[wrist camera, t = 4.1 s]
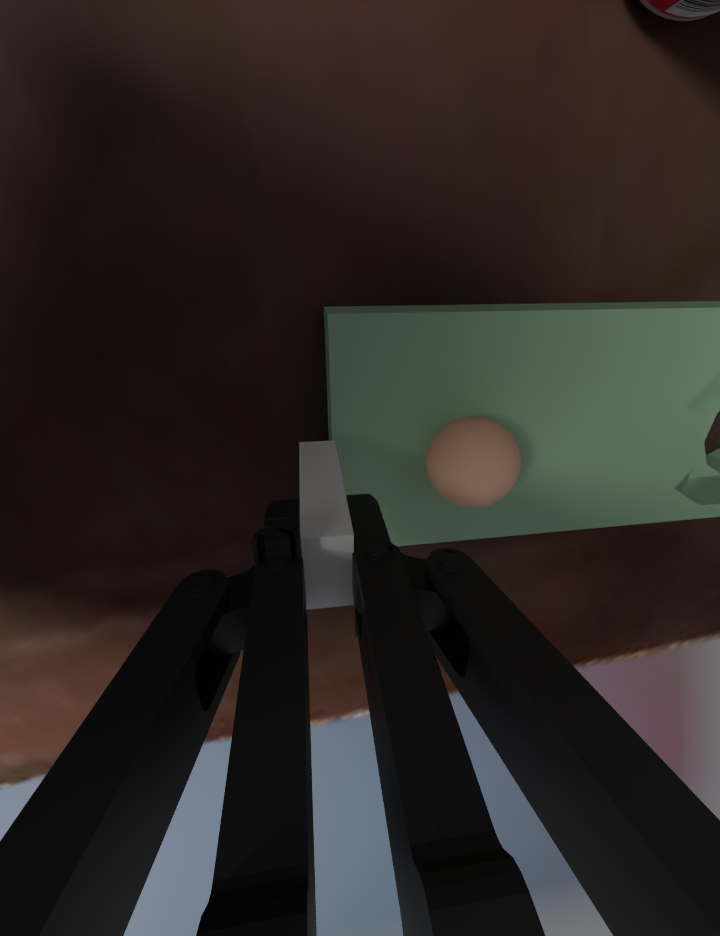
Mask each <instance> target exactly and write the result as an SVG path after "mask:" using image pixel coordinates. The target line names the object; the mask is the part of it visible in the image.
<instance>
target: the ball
mask: <svg viewBox="0 0 720 936" xmlns="http://www.w3.org/2000/svg"><path fill="white" fill-rule="evenodd" d="M426 468H427V473H428V477H429V479H430V481H431V484H432V485H433V487H434V488H435V490H436V491H437V492H438V493H439V494H440V495H441V496H442V497H443V498H444V499H446V500H447V501H449V502H451V503H453V504H455V505H458V506H461V507H466V508H481V507H486V506H489V505H492V504H494V503H496V502H498V501H499V500H501V499H502V498H504V497H505V496H506V495H507V494H508V493H509V492H510V491H511V490H512V488H513V487H514V485H515V483H516V482H517V479H518V477H519V473H520V468H521V456H520V451H519V448H518V445H517V443H516V441H515V439H514V438H513V436H512V435H511V434H510V433H509V432H508V431H507V430H506V429H505V428H504V427H503V426H501V425H500V424H498V423H497V422H495V421H492V420H490V419H486V418H482V417H465V418H461V419H458V420H455V421H453V422H451V423H449V424H447V425H446V426H444V427H443V428H442V429H441V430H440V431H439V432H438V433H437V434H436V435H435V437H434V438H433V440H432V442H431V444H430V446H429V448H428V452H427V457H426Z"/></svg>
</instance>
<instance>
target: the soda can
mask: <svg viewBox="0 0 720 936" xmlns="http://www.w3.org/2000/svg"><path fill="white" fill-rule="evenodd" d="M639 1H640V2H641V3H642V4H643V5H644V6H645V7H646V8H648V9H649V10H650V11H652V12H653V13H655V14H656V15H658V16H661V17H663V18H667V19H670V20H675V21H690V20H697V19H701V18H704V17H707V16H710V15H712V14H714V13H716V12H718V11H720V0H639Z"/></svg>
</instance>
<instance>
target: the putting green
mask: <svg viewBox="0 0 720 936" xmlns="http://www.w3.org/2000/svg"><path fill="white" fill-rule="evenodd" d="M324 327H325V353H326V380H327V406H328V433H329V441H334V440H335V444H336V449H337V454H338V459H339V464H340V469H341V474H342V479H343V484H344V489H345V494H346V495H355V494H371V495H372V496H373V497H374V498H375V499H376V500H377V501H378V503H379V506H380V510H381V512H382V516H383V519H384V522H385V525H386V528H387V531H388V534H389V537H390V540H391V543H393V544H394V545H396V546H407V545H418V544H429V543H439V542H450V541H461V540H472V539H483V538H494V537H505V536H515V535H526V534H537V533H548V532H559V531H570V530H580V529H591V528H602V527H613V526H624V525H635V524H646V523H656V522H667V521H678V520H689V519H700V518H711V517H720V448H719V449H717V450H715V451H713V452H711V453H709V454H705V445H704V441H705V439H706V437H707V435H708V432H709V430H710V428H711V426H712V424H713V421H714V419H715V417H716V415H717V413H718V412H719V411H720V301H681V302H612V303H542V304H473V305H403V306H334V307H324ZM465 417H482V418H486V419H490V420H492V421H495V422H497V423H498V424H500V425H501V426H503V427H504V428H505V429H506V430H507V431H508V432H509V433H510V434H511V435H512V436H513V438H514V439H515V441H516V443H517V445H518V448H519V451H520V456H521V468H520V473H519V477H518V479H517V482H516V483H515V485H514V487H513V488H512V490H511V491H510V492H509V493H508V494H507V495H506V496H505V497H504V498H502V499H501V500H499V501H498V502H496V503H494V504H492V505H489V506H486V507H481V508H466V507H461V506H458V505H455V504H453V503H451V502H449V501H447V500H446V499H444V498H443V497H442V496H441V495H440V494H439V493H438V492H437V491H436V490H435V488H434V487H433V485H432V484H431V481H430V479H429V477H428V473H427V468H426V457H427V452H428V448H429V446H430V444H431V442H432V440H433V438H434V437H435V435H436V434H437V433H438V432H439V431H440V430H441V429H442V428H443V427H444V426H446V425H447V424H449V423H451V422H453V421H455V420H458V419H461V418H465Z"/></svg>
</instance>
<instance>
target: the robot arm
mask: <svg viewBox="0 0 720 936" xmlns="http://www.w3.org/2000/svg"><path fill="white" fill-rule="evenodd" d="M299 475H300V499H294V500H279V501H272V503H271V504H270V505H269V506H268V508H267V509H266V514H265V522H264V528H263V529H261V530H259V531H258V532H257V533H256V534H255V535H254V537H253V539H252V546H253V552H254V559H255V565H254V566H253V567H252V568H250V569H249V570H247V571H245V572H243V573H241V574H238V575H235V576H232V577H229V578H227V577H226V575H224V574H223V573H222V572H221V571H217V570H202V571H199V572H195V573H193V574H191V575H189V576H187V577H186V578H184V579H183V580H182V581H181V582H180V583H179V584H178V586H177V587H176V588H175V590H174V591H173V593H172V594H171V596H170V597H169V599H168V600H167V601H166V603H165V604H164V606H163V607H162V609H161V610H160V612H159V613H158V614H157V616H156V617H155V619H154V620H153V622H152V623H151V625H150V626H149V627H148V629H147V630H146V632H145V633H144V635H143V636H142V638H141V639H140V640H139V642H138V643H137V645H136V646H135V648H134V649H133V651H132V652H131V653H130V655H129V656H128V658H127V659H126V661H125V662H124V664H123V665H122V666H121V668H120V669H119V671H118V672H117V674H116V675H115V677H114V678H113V679H112V681H111V682H110V684H109V685H108V687H107V688H106V689H105V691H104V692H103V694H102V695H101V697H100V698H99V700H98V701H97V702H96V704H95V705H94V707H93V708H92V710H91V711H90V713H89V714H88V715H87V717H86V718H85V720H84V721H83V723H82V724H81V726H80V727H79V728H78V730H77V731H76V733H75V734H74V736H73V737H72V739H71V740H70V741H69V743H68V744H67V746H66V747H65V749H64V750H63V752H62V753H61V754H60V756H59V757H58V759H57V760H56V762H55V763H54V765H53V766H52V767H51V769H50V770H49V772H48V773H47V775H46V776H45V778H44V779H43V780H42V782H41V783H40V785H39V786H38V788H37V789H36V791H35V792H34V793H33V795H32V796H31V798H30V799H29V801H28V802H27V804H26V805H25V806H24V808H23V809H22V811H21V812H20V814H19V815H18V817H17V818H16V819H15V821H14V822H13V824H12V825H11V827H10V828H9V830H8V831H7V833H6V834H5V835H4V837H3V838H2V840H1V841H0V936H123V935H124V932H125V930H126V928H127V925H128V923H129V920H130V918H131V916H132V913H133V911H134V908H135V906H136V904H137V901H138V899H139V896H140V894H141V891H142V889H143V887H144V884H145V882H146V880H147V877H148V875H149V872H150V870H151V867H152V865H153V863H154V860H155V858H156V855H157V853H158V851H159V848H160V846H161V843H162V841H163V839H164V836H165V834H166V831H167V829H168V827H169V824H170V822H171V819H172V817H173V815H174V812H175V810H176V807H177V805H178V802H179V800H180V798H181V795H182V793H183V791H184V788H185V786H186V783H187V781H188V779H189V776H190V774H191V771H192V769H193V767H194V764H195V762H196V759H197V757H198V755H199V752H200V750H201V747H202V745H203V742H204V740H205V738H206V735H207V733H208V730H209V728H210V726H211V723H212V721H213V718H214V716H215V714H216V711H217V709H218V706H219V704H220V702H221V699H222V697H223V694H224V692H225V690H226V687H227V685H228V682H229V680H230V678H231V675H232V673H233V670H234V668H235V666H236V663H237V661H238V658H239V656H240V651H241V650H243V649H244V652H243V659H242V667H241V674H240V682H239V689H238V697H237V704H236V712H235V719H234V727H233V734H232V742H231V749H230V757H229V764H228V773H227V780H226V787H225V795H224V802H223V810H222V817H221V824H220V832H219V839H218V847H217V854H216V862H215V869H214V877H213V884H212V890H211V895H210V899H209V902H208V905H207V907H206V908H205V911H204V912H203V915H202V916H201V920H200V923H199V927H198V931H197V935H196V936H317V935H316V905H315V904H316V903H315V869H314V835H313V803H312V802H313V801H312V769H311V736H310V735H311V734H310V700H309V666H308V633H307V615H306V610H310V609H320V608H330V607H339V606H349V605H354V602H355V636H358V640H359V647H360V653H361V660H362V666H363V673H364V679H365V686H366V692H367V699H368V705H369V711H370V718H371V724H372V730H373V737H374V744H375V750H376V757H377V762H378V770H379V776H380V782H381V789H382V795H383V802H384V808H385V815H386V821H387V828H388V834H389V840H390V847H391V854H392V860H393V867H394V873H395V880H396V886H397V892H398V899H399V905H400V912H401V919H402V928H403V936H545V934H544V931H543V928H542V926H541V923H540V920H539V917H538V915H537V912H536V909H535V906H534V903H533V901H532V898H531V895H530V892H529V890H528V888H527V885H526V883H525V880H524V878H523V876H522V873H521V871H520V869H519V867H518V866H517V864H516V862H515V860H514V859H513V857H512V856H511V855H509V853H507V852H506V851H505V850H504V849H503V848H502V846H501V844H500V842H499V840H498V838H497V835H496V833H495V830H494V827H493V825H492V822H491V819H490V815H489V813H488V810H487V807H486V804H485V801H484V798H483V795H482V792H481V789H480V786H479V783H478V780H477V777H476V774H475V771H474V769H473V766H472V763H471V760H470V757H469V754H468V751H467V748H466V745H465V742H464V739H463V736H462V733H461V730H460V727H459V724H458V722H457V718H456V716H455V713H454V710H453V707H452V704H451V701H450V698H449V695H448V692H447V689H446V686H445V683H444V680H443V677H442V674H441V671H440V668H439V666H438V663H437V660H436V657H435V655H436V656H437V658H438V660H439V661H440V663H441V664H442V666H443V667H444V669H445V671H446V672H447V674H448V675H449V677H450V678H451V680H452V682H453V683H454V685H455V686H456V688H457V690H458V691H459V693H460V694H461V696H462V697H463V699H464V701H465V702H466V704H467V705H468V707H469V708H470V710H471V712H472V713H473V715H474V716H475V718H476V719H477V721H478V723H479V724H480V726H481V727H482V729H483V730H484V732H485V734H486V735H487V737H488V738H489V740H490V742H491V743H492V745H493V746H494V748H495V749H496V751H497V753H498V754H499V756H500V757H501V759H502V761H503V762H504V764H505V765H506V767H507V768H508V770H509V772H510V773H511V775H512V776H513V778H514V780H515V781H516V783H517V784H518V785H519V787H520V789H521V790H522V792H523V793H524V795H525V797H526V798H527V800H528V802H529V803H530V805H531V806H532V808H533V809H534V811H535V813H536V814H537V816H538V817H539V819H540V821H541V822H542V823H543V825H544V827H545V828H546V830H547V832H548V833H549V835H550V836H551V838H552V840H553V841H554V843H555V844H556V845H557V847H558V849H559V851H560V852H561V854H562V855H563V857H564V858H565V860H566V862H567V863H568V865H569V866H570V868H571V870H572V871H573V873H574V874H575V876H576V877H577V879H578V880H579V882H580V884H581V885H582V887H583V888H584V890H585V892H586V893H587V895H588V896H589V898H590V899H591V901H592V903H593V904H594V906H595V907H596V909H597V911H598V912H599V914H600V915H601V917H602V918H603V920H604V922H605V923H606V925H607V926H608V928H609V929H610V931H611V933H612V934H613V936H720V820H719V819H718V818H717V817H716V816H715V815H714V814H713V813H712V812H711V811H710V810H709V809H708V808H707V807H706V806H705V805H704V804H703V802H701V801H700V799H699V798H698V797H697V796H696V795H695V794H694V793H693V792H692V791H691V790H690V789H689V788H688V787H687V786H686V785H685V784H684V782H683V781H682V780H681V779H680V778H679V777H678V776H677V775H676V774H675V773H674V772H673V771H672V770H671V769H670V768H669V767H668V766H667V765H666V764H665V762H663V760H661V758H660V757H659V756H658V755H657V754H656V753H655V752H654V751H653V750H652V749H651V748H650V747H649V746H648V745H647V744H646V743H645V741H644V740H643V739H642V738H641V737H640V736H639V735H638V734H637V733H636V732H635V731H634V730H633V729H632V728H631V727H630V726H629V725H628V724H627V722H626V721H625V720H623V718H622V717H621V716H620V715H619V714H618V713H617V712H616V711H615V710H614V709H613V708H612V707H611V706H610V705H609V704H608V702H606V700H605V699H604V698H603V697H602V696H601V695H600V694H599V693H598V692H597V691H596V690H595V689H594V688H593V687H592V686H591V685H590V683H589V682H588V681H587V680H586V679H585V678H584V677H583V676H582V675H581V674H580V673H579V672H578V671H577V670H576V669H575V668H574V667H573V666H572V665H571V663H570V662H569V661H568V660H567V659H566V658H565V657H564V656H563V655H562V654H561V653H560V652H559V651H558V650H557V649H556V648H555V647H554V646H553V645H552V643H551V642H550V641H549V640H548V639H547V638H546V637H545V636H544V635H543V634H542V633H541V632H540V631H539V630H538V629H537V628H536V627H535V626H534V625H533V623H532V622H531V621H530V620H529V619H528V618H527V617H526V616H525V615H524V614H523V613H522V612H521V611H520V610H519V609H518V608H517V607H516V606H515V605H514V603H513V602H512V601H511V600H510V599H509V598H508V597H507V596H506V595H505V594H504V593H503V592H502V591H501V590H500V589H499V588H498V587H497V586H496V585H495V583H494V582H493V581H492V580H491V579H490V578H489V577H488V576H487V575H486V574H485V573H484V572H483V571H482V570H481V569H480V568H479V567H478V566H477V565H476V563H475V562H474V561H473V560H472V559H471V558H470V557H468V556H467V555H466V554H465V553H463V552H461V551H458V550H455V549H449V548H443V549H437V550H435V551H433V552H431V553H430V555H429V556H428V558H427V560H426V559H420V558H414V557H409V556H406V555H404V554H402V553H400V551H399V549H398V548H397V546H396V545H394V544H393V543H391V540H390V537H389V534H388V531H387V528H386V525H385V522H384V519H383V516H382V512H381V510H380V506H379V503H378V501H377V500H376V499H375V498H374V497H373V496H372V495H371V494H355V495H346V494H345V489H344V484H343V479H342V474H341V469H340V464H339V459H338V454H337V449H336V444H335V440H334V441H313V442H299ZM434 653H435V654H434Z"/></svg>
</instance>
